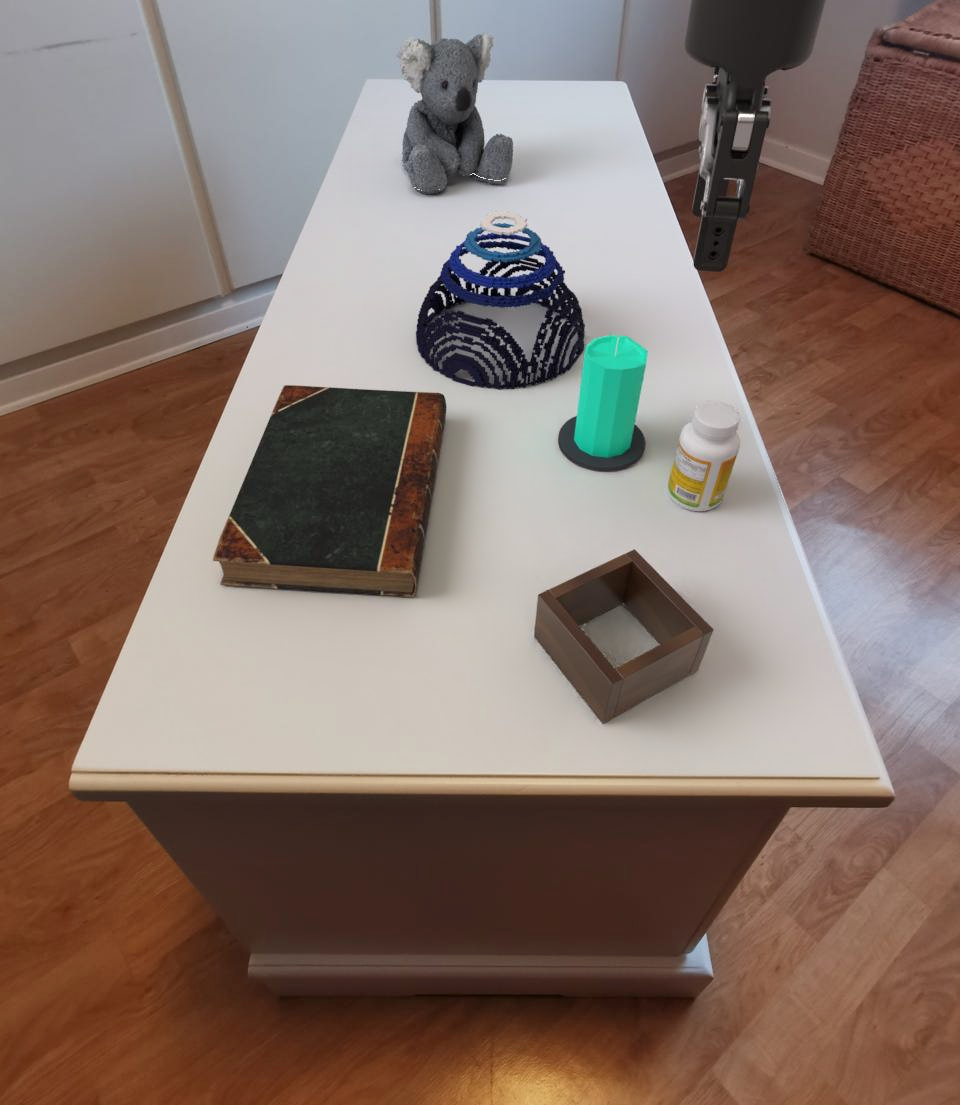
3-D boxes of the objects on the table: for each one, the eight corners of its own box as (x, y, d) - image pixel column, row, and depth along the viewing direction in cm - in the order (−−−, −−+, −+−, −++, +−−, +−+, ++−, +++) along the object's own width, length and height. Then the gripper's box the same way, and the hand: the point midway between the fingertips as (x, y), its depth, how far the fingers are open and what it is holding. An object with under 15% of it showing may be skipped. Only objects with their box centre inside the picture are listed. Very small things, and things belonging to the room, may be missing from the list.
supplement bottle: (714, 474, 78) (738, 394, 70) (729, 511, 74) (756, 431, 67) (661, 476, 77) (680, 396, 70) (673, 514, 74) (695, 434, 67)
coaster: (609, 407, 85) (610, 402, 84) (662, 453, 80) (663, 448, 79) (541, 433, 82) (541, 428, 81) (591, 483, 77) (592, 478, 76)
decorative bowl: (385, 360, 91) (374, 241, 80) (463, 283, 103) (461, 171, 92) (542, 407, 85) (552, 285, 74) (605, 319, 97) (621, 204, 86)
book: (289, 410, 84) (219, 586, 67) (282, 383, 82) (209, 558, 65) (447, 419, 83) (417, 598, 67) (447, 391, 81) (415, 571, 64)
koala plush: (415, 201, 120) (407, 56, 105) (381, 158, 131) (370, 22, 116) (518, 184, 124) (524, 43, 110) (476, 144, 135) (477, 11, 121)
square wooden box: (625, 591, 67) (634, 548, 63) (698, 670, 62) (714, 629, 58) (533, 636, 64) (537, 594, 60) (602, 724, 58) (612, 684, 54)
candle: (598, 465, 77) (614, 363, 69) (561, 433, 81) (572, 332, 72) (643, 444, 80) (664, 342, 71) (606, 414, 83) (622, 313, 74)
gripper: (853, -8, 38) (768, 294, 50) (819, -63, 48) (754, 202, 60) (699, -12, 39) (651, 285, 51) (696, -65, 49) (656, 196, 61)
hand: (707, 240), depth 56 cm, fingers open, 8 cm apart
